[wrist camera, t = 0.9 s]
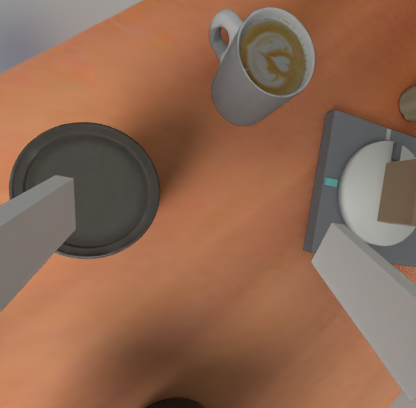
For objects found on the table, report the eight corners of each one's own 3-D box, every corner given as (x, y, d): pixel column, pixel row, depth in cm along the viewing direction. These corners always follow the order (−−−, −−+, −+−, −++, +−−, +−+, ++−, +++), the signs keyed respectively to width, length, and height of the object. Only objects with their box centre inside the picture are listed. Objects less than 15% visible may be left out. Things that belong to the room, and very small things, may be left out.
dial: (407, 249, 41) (454, 259, 35) (330, 237, 36) (367, 245, 30) (422, 155, 41) (471, 148, 35) (347, 131, 37) (387, 117, 30)
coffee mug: (281, 106, 36) (329, 72, 26) (235, 138, 34) (268, 114, 24) (237, 29, 34) (271, -39, 24) (185, 59, 32) (200, -2, 22)
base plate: (403, 263, 44) (417, 267, 42) (303, 249, 38) (312, 253, 35) (422, 146, 44) (436, 143, 42) (325, 114, 38) (336, 108, 36)
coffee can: (70, 159, 28) (-5, 123, 15) (151, 154, 31) (151, 119, 17) (81, 237, 29) (20, 272, 15) (160, 225, 32) (167, 246, 18)
